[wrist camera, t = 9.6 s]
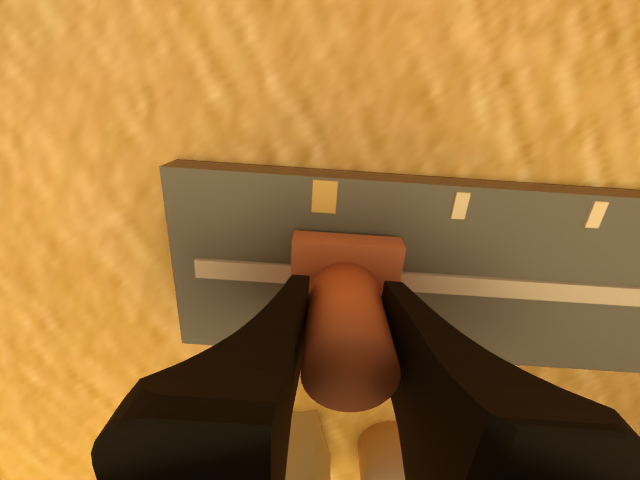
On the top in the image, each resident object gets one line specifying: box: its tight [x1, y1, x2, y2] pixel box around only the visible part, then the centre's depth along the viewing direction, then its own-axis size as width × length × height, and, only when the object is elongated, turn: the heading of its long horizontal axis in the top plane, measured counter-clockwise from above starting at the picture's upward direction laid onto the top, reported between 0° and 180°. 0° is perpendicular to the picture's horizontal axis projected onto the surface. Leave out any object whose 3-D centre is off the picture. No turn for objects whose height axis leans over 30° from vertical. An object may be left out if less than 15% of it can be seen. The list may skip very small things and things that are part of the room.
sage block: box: [285, 410, 330, 480], centre depth 18 cm, size 4×4×4 cm
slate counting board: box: [159, 159, 640, 373], centre depth 14 cm, size 24×8×2 cm, turn 86°
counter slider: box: [291, 230, 406, 412], centre depth 11 cm, size 4×4×5 cm
